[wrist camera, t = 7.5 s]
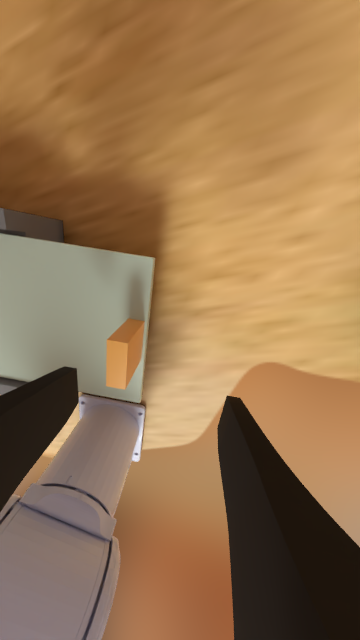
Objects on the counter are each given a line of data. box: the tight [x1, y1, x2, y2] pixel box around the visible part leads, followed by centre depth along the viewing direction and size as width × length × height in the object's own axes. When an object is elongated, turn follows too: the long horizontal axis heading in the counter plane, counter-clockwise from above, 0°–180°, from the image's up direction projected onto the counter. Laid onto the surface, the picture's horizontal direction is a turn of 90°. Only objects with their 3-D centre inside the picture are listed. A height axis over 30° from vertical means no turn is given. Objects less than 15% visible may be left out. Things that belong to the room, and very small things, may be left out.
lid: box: [0, 233, 155, 403], centre depth 13 cm, size 12×17×4 cm
